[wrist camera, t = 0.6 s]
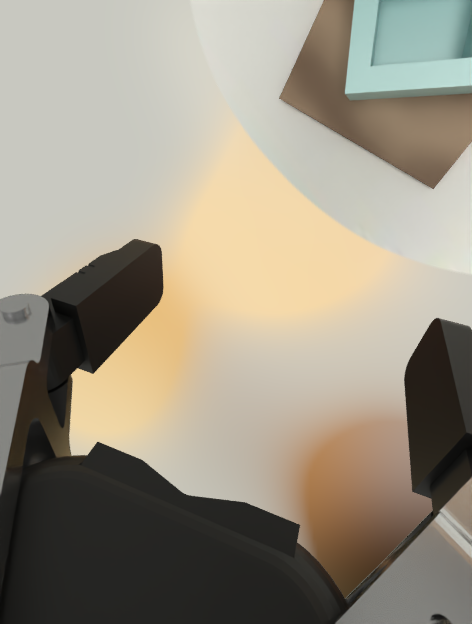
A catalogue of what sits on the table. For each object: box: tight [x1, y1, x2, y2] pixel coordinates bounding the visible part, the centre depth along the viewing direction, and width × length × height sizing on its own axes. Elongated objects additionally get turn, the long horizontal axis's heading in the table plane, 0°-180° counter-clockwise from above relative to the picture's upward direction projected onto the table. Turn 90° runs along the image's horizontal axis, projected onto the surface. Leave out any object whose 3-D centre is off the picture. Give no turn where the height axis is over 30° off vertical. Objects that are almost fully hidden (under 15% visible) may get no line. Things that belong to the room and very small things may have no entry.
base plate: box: [279, 0, 472, 189], centre depth 26 cm, size 16×16×1 cm
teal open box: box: [345, 0, 472, 100], centre depth 23 cm, size 8×9×6 cm
